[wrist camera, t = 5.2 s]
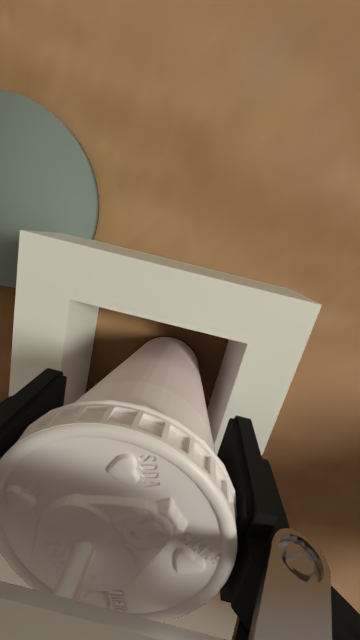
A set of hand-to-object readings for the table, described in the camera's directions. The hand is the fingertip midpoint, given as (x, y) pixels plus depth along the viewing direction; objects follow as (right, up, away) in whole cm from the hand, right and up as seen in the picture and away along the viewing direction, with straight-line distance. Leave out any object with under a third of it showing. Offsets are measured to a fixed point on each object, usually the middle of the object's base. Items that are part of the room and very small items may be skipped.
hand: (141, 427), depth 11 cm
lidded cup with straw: (+1, +1, +6) cm, 6 cm away
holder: (0, +2, +6) cm, 6 cm away
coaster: (-7, +10, +4) cm, 13 cm away
